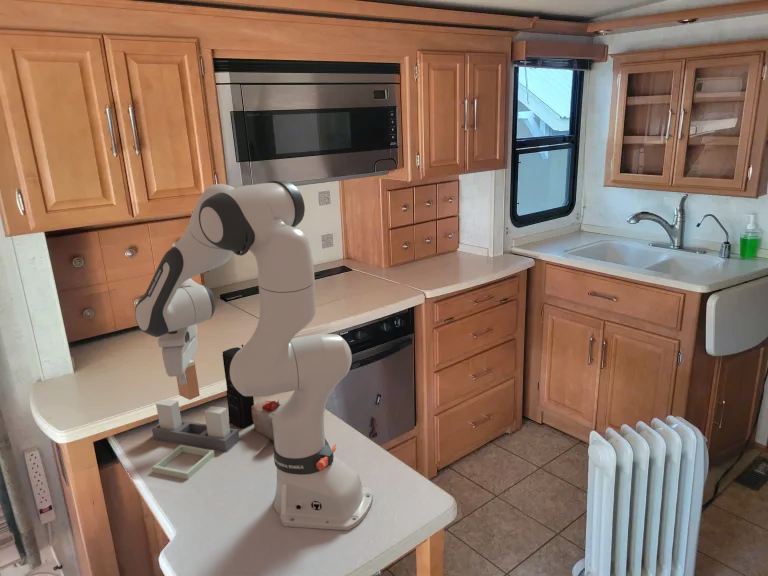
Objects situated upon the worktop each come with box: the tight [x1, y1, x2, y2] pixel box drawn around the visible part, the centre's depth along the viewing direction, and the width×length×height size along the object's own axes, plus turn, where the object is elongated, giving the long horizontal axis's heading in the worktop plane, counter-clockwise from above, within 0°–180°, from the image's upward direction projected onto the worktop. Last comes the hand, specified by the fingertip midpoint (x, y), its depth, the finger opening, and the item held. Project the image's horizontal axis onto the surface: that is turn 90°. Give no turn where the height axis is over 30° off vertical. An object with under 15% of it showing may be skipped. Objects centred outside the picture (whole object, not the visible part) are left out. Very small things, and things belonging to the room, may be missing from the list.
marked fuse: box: [175, 359, 200, 401], centre depth 151 cm, size 5×3×10 cm, turn 51°
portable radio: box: [222, 344, 255, 430], centre depth 161 cm, size 8×6×25 cm
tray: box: [152, 444, 216, 480], centre depth 144 cm, size 11×11×2 cm
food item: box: [251, 400, 282, 443], centre depth 157 cm, size 14×8×10 cm, turn 46°
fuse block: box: [150, 398, 242, 453], centre depth 155 cm, size 25×7×11 cm, turn 70°
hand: (186, 377), depth 151 cm, fingers closed on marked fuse, 6 cm apart
